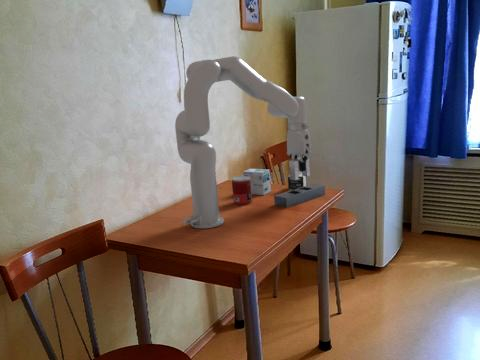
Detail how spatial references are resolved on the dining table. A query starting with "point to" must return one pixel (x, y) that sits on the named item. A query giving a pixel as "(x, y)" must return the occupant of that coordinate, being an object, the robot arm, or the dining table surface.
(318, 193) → the grey slotted block
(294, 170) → the clip
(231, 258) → the dining table surface
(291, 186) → the medicine bottle
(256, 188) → the light bulb box
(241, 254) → the dining table surface
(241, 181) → the canned food
